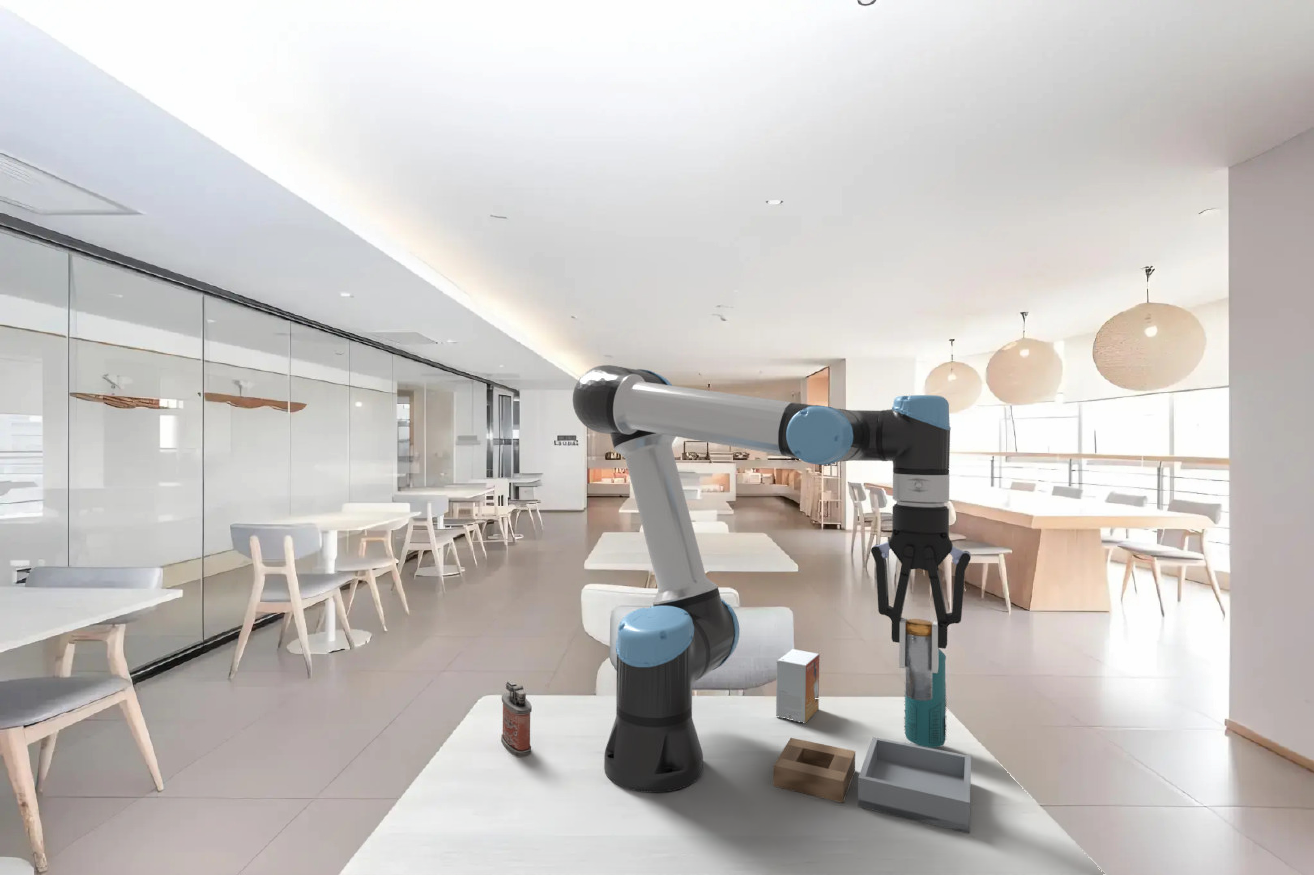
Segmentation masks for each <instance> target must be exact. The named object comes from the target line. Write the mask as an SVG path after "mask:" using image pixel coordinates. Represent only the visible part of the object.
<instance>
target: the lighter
mask: <svg viewBox="0 0 1314 875" xmlns="http://www.w3.org/2000/svg"><path fill="white" fill-rule="evenodd" d="M505 689H506V690H507V691H508V692H506V693H502V694H501V702H502V734H501V735H500V737H501V739H500V741H501V743H502V746H503V747H504V748H505V749H506V751H508V752H509V753H510V754H511V755H513V756H515V757H516V758H525V757H529V756H530V755H531V754H532V746H531V713H532V711H533V710H532V709H533V708H532V704H531V702H530V701H529V700H528V699H527V698H526V697H527V692H526V691H525V690H524V687H523V685H522V684H519V685H518V684H517V683H515V682H514V681H513V680H512V679H511V680H506V682H505Z"/></svg>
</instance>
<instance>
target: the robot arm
mask: <svg viewBox="0 0 1314 875" xmlns="http://www.w3.org/2000/svg"><path fill="white" fill-rule="evenodd" d="M572 406H573V410H574V413H575V415H576V416H577V418H578V420H579V421H580V422H581V424H582V425H584V426H585V427H586V428H588V429H589V430H591V431H593V432H596V433H600V434H605V435H606V434H607V435H610V438H611V442H612V446H613V450H614V451H615V452H616V453H617V454H619V455H621V456H623V458H625V463H626V466H627V470H628V474H629V479H630V483H631V486H632V490H633V495H634V498H635V502H636V507H637V511H638V514H639V517H640V518H639V519H640V522H641V526H642V530H643V534H644V538H645V543H646V546H647V550H648V554H649V559H650V562H651V566H652V570H653V574H654V578H655V581H656V582H655V583H656V585H657V592H656V595H655V597H654V598H653V600H652V605H651V606H649V607H647V608H646V607H642V608H638V609H636V610H633V611H631V612H629V613H627V614H626V615H625V616H624V617H623V618H622V619H621V620H620V622H619V625H618V628H617V637H616V642H615V651H616V652H615V653H616V698H615V699H616V705H615V706H616V712H615V714H616V715H615V720H614V723H613V725H612V728H611V731H610V734H609V738H608V740H607V743H606V747H605V749H604V758H603V759H604V764H603V766H604V767H603V769H604V772H605V774H606V776H607V777H608V778H609V779H610V780H611V781H612V782H614V783H615V784H617V785H619V786H621V787H623V788H626V789H629V790H632V791H637V792H643V793H644V792H645V793H663V792H664V793H665V792H672V791H676V790H680V789H684V788H685V787H688V786H689V785H692V784H693V783H695V782H696V781H697V780H698V779H699V778H700V777H701V775H702V773H703V770H704V766H703V765H704V754H703V749H702V747H701V743H700V740H699V736H698V733H697V730H696V727H695V722H694V721H693V683H695V682H696V681H698V680H700V679H702V677H704V676H706V675H707V674H709V673H710V672H712V671H714V670H716V669H718V668H720V667H722V665H724V663H725V662H726V661H727V660H728V659H729V658H730V657H731V656H732V655H733V653H734V652H735V650H736V649H737V645H738V642H739V638H740V624H739V619H738V616H737V614H736V612H735V610H734V608H733V607H732V606H731V605H730V604H728V603H727V602H726V601H725V600H724V599H723V598H721V595H720V590H719V586H718V585H717V584H716V583H715V582H713V581H712V580H710V579H709V578H708V577H707V575H706V572H705V567H704V563H703V560H702V556H701V554H700V549H699V545H698V542H697V538H696V533H695V529H694V527H693V522H692V519H691V515H690V511H689V506H688V504H687V499H686V495H685V492H684V488H683V485H682V480H681V476H680V474H679V473H680V472H679V469H678V466H677V461H676V458H675V453H674V450H673V443H674V441H675V439H676V438H683V439H688V440H694V441H699V442H705V443H710V444H717V445H722V446H727V447H733V448H739V449H745V450H749V451H756V452H762V453H766V454H773V455H779V456H783V457H784V456H785V457H788V458H791V459H792V458H794V459H799V460H801V461H803V462H805V463H808V464H811V465H820V466H827V465H830V464H831V465H832V464H834V463H840V462H848V461H849V462H850V461H859V462H861V461H865V462H866V461H867V462H872V461H874V462H875V461H877V462H879V461H881V462H892V500H894V501H895V502H896V503H895V504H893V505H892V514H891V515H892V518H891V519H892V520H891V521H892V528H891V530H892V532H891V536H890V538H888V541H887V542H884V543H881V544H878V543H876V544H874V545H873V546H872V547H871V549H870V552H871V554H872V557H873V559H874V562H875V569H876V588H877V608H878V609H877V610H878V613H879V614H880V615H882V616H886V617H888V618H889V619H890V620H891V640H892V642H893V643H898V644H899V645H898V646H899V652H898V653H899V658H898V659H899V660H898V661H899V663H898V664H899V665H898V667H899V668H900V669H905V666H906V620H908V618H907V617H902V614H903V610H904V607H905V606H904V605H905V601H906V595H907V591H908V586H909V582H910V576H911V573H912V572H911V571H912V570H917V569H918V570H919V569H920V570H923V571H927V574H928V578H929V583H930V588H931V592H932V593H931V594H932V599H933V600H932V601H933V604H934V610H935V614H936V621H933V622H932V623H933V624H932V673H938V661H939V649H945V650H946V648H947V646H948V627H949V626H950V625H953V624H960V623H961V622H962V615H963V601H964V588H965V586H964V585H965V573H966V569H967V567H968V565H969V563H970V562H971V558H972V554H971V552H970V551H968V550H963V549H959V548H957V547H956V546H954V545H953V542H952V540H951V538H950V528H949V527H950V508H948V506H946V505H945V504H946V503H948V502H949V501H950V451H951V449H950V447H951V446H950V445H951V428H952V427H951V426H950V424H951V423H950V403H949V401H948V400H947V398H945V397H944V396H941V395H936V394H935V395H934V394H933V395H932V394H927V395H926V394H924V395H923V394H922V395H921V394H919V395H918V394H915V395H899V396H896V397H894V400H893V405H892V406H891V409H882V410H861V409H860V410H858V409H857V410H853V409H842V408H835V407H831V406H825V405H817V404H816V405H814V404H807V403H800V402H799V403H797V402H792V401H785V400H778V399H769V398H763V397H755V396H748V395H742V394H741V395H740V394H734V393H729V392H720V391H715V390H714V391H712V390H706V389H698V388H692V387H683V386H676V385H675V386H674V385H673V384H672V383H671V382H670V381H669V380H668V379H667V378H666V377H664V376H663V375H661V374H659V373H656V372H654V371H652V370H648V369H642V368H639V369H638V368H637V369H634V368H629V367H623V366H622V367H621V366H617V365H611V364H605V365H598V366H594V367H592V368H591V369H589V370H587V371H586V372H585V373H583V374H582V375H581V377H579V379H578V380H577V382H576V384H575V385H574V389H573V393H572ZM890 550H891V551H892V553H894V555H895V556H896V558H897V559H898V561H899V562H900V563H901V566H900V572H899V576H898V582H897V587H896V590H895V596H894V601H893V606H891V605H890V601H889V600H890V599H889V598H890V597H889V579H888V565H887V564H888V562H887V558H889V556H890ZM949 555H951V556H952V559H951V560H952V564H954V565H955V571H954V581H953V596H952V608H951V612H947V608H946V602H945V597H944V592H943V587H942V581H941V580H942V579H941V574H940V568H939V566H940V565H941V564H942V563H943V562H944V560H945V559H946V558H947V557H948V556H949Z"/></svg>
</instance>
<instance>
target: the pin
mask: <svg viewBox="0 0 1314 875" xmlns="http://www.w3.org/2000/svg"><path fill="white" fill-rule="evenodd" d="M932 624H933V622H932V621H930V620H926V619H921V618H907V620H906V666H905V668H904V669H905V672H904V674H905V675H904V677H905V678H904V680H905V681H904V683H905V684H904V690H905V691H904V696H905V695H906V696H907V697H909V698H911V699H915V700H921V701H927V700H931V699H932Z"/></svg>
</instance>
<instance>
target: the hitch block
mask: <svg viewBox="0 0 1314 875" xmlns="http://www.w3.org/2000/svg"><path fill="white" fill-rule="evenodd" d="M772 772H773V773H772V774H773V779H772V780H773V782H772V783H773V784H772V786H773V787H777V788H781V789H785V790H789V791H793V792H797V793H801V794H805V795H810V796H813V797H818V798H821V799H822V798H823V799H826V800H829V801H834V802H839V803H844V802H845V800H846V797H847V793H848V792H849V791H848V790H849V788H850V785H851V784H852V783H851V782H852V779H853V777H854V775H855V772H856V750H851V749H847V748H843V747H842V748H841V747H837V746H834V745H827V744H822V743H818V742H813V741H808V740H805V739H798V738H795V737H794V738H793V737H790V738H789V740H788V742H787V743H786V745H785V746H784V748H783V749H782V751H781V752H780V754H779V756H778V758H776V760H775V762H774V764H773V771H772Z"/></svg>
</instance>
